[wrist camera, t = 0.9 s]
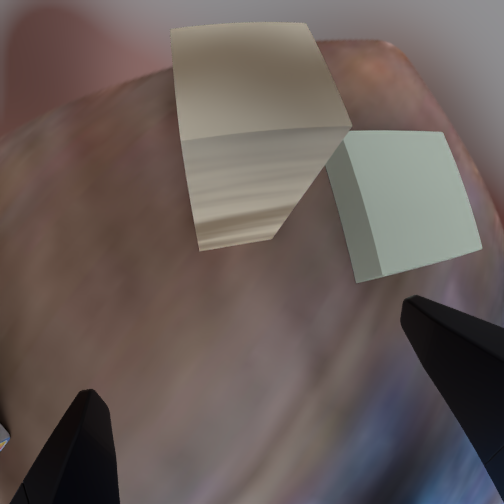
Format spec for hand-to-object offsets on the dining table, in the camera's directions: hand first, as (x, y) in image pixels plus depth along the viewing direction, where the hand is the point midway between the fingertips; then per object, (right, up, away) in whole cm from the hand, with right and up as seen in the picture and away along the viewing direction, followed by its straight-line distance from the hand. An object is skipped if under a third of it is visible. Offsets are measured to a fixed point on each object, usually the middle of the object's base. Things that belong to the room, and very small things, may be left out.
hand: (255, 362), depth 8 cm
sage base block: (+11, +6, +16) cm, 21 cm away
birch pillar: (-2, +6, +14) cm, 16 cm away
